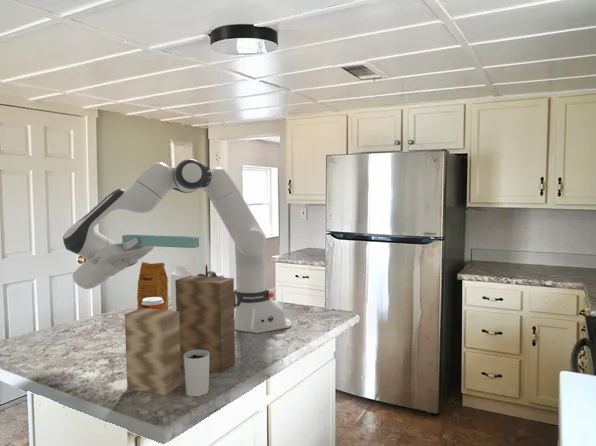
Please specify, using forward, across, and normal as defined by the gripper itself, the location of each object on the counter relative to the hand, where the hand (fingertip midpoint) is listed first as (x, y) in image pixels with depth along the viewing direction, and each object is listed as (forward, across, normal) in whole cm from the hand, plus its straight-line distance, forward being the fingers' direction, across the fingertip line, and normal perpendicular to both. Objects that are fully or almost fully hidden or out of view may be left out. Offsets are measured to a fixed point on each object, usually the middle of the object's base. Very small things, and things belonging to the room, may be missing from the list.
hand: (143, 239), depth 141 cm
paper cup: (-28, +17, +28) cm, 43 cm away
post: (0, 0, +43) cm, 43 cm away
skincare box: (-34, +76, +24) cm, 86 cm away
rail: (+4, 0, +5) cm, 7 cm away
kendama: (-30, +57, +26) cm, 70 cm away
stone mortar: (-24, +73, +30) cm, 82 cm away
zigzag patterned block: (-4, -18, +41) cm, 45 cm away
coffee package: (-47, +45, +16) cm, 67 cm away
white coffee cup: (+7, -16, +47) cm, 51 cm away
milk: (-31, +40, +26) cm, 57 cm away
